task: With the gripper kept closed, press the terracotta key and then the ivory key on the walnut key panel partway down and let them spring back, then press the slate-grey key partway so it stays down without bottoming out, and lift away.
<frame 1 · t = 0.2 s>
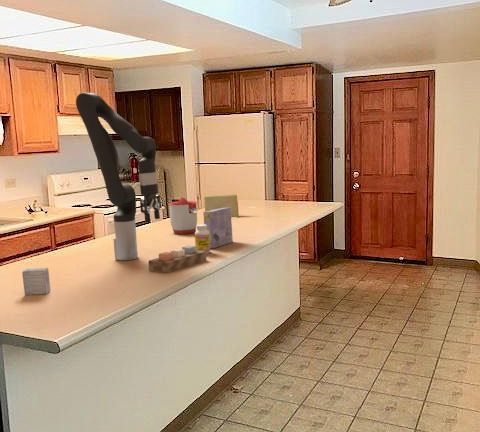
hand: (152, 220, 235), 17 cm above the countertop, tool pointing down, fingers open, 8 cm apart
ivory key: (177, 254, 224), point 4 cm above the countertop, slide at 0.0 cm
citrus juicer: (185, 233, 303), on the countertop
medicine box: (37, 293, 192), on the countertop
supplement bottle: (203, 253, 247), on the countertop
key panel: (178, 265, 225), on the countertop
terracotta key: (165, 258, 219), point 4 cm above the countertop, slide at 0.0 cm
slate key: (189, 251, 230), point 5 cm above the countertop, slide at 0.0 cm
cake pan box: (219, 245, 263), on the countertop
cheese: (223, 217, 356), on the countertop
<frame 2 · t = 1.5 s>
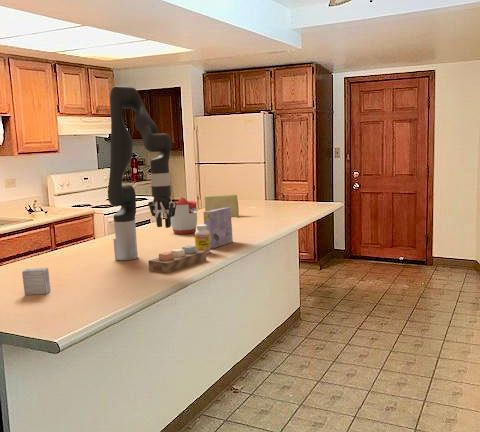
hand: (163, 227, 217), 17 cm above the countertop, tool pointing down, fingers open, 4 cm apart
nothing on the countertop moved.
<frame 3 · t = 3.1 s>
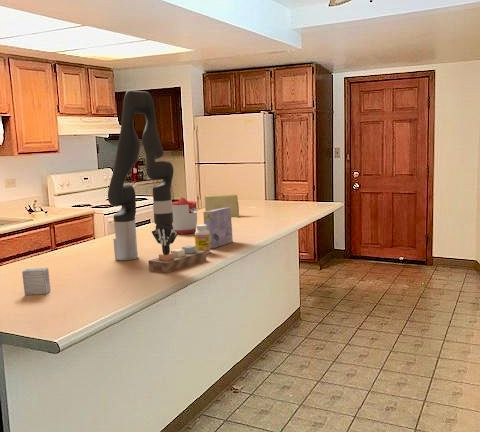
hand: (166, 254, 218), 6 cm above the countertop, tool pointing down, fingers closed
terracotta key: (166, 258, 219), point 4 cm above the countertop, slide at 0.4 cm, touching gripper
everything else where it was.
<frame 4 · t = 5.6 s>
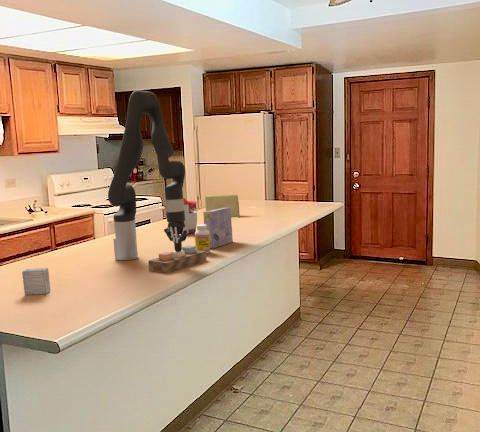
hand: (178, 251, 224), 6 cm above the countertop, tool pointing down, fingers closed
ivory key: (177, 256, 224), point 4 cm above the countertop, slide at 0.7 cm, touching gripper
terracotta key: (165, 258, 219), point 4 cm above the countertop, slide at 0.1 cm
everything else where it was.
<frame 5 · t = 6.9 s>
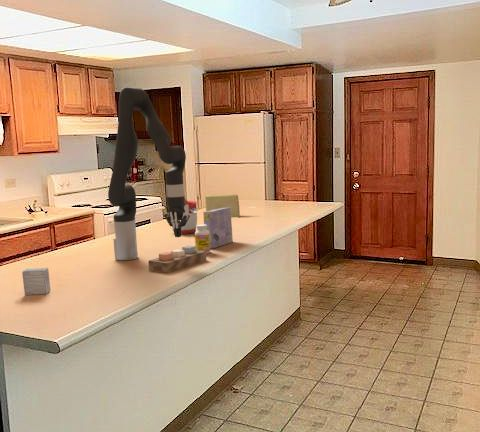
hand: (177, 236, 224), 12 cm above the countertop, tool pointing down, fingers closed
ivory key: (177, 255, 224), point 4 cm above the countertop, slide at 0.3 cm
everything else where it was.
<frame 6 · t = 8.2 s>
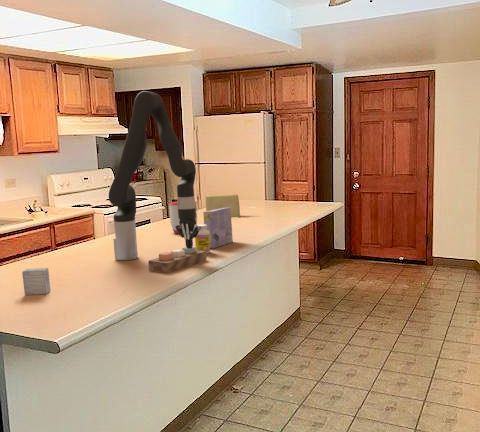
hand: (189, 247, 229), 6 cm above the countertop, tool pointing down, fingers closed
slate key: (189, 252, 230), point 4 cm above the countertop, slide at 0.5 cm, touching gripper
everything else where it was.
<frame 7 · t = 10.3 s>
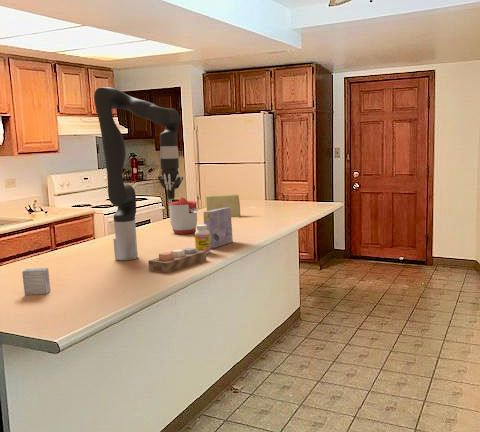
hand: (171, 198, 226), 27 cm above the countertop, tool pointing down, fingers closed
slate key: (189, 253, 230), point 3 cm above the countertop, slide at 1.0 cm
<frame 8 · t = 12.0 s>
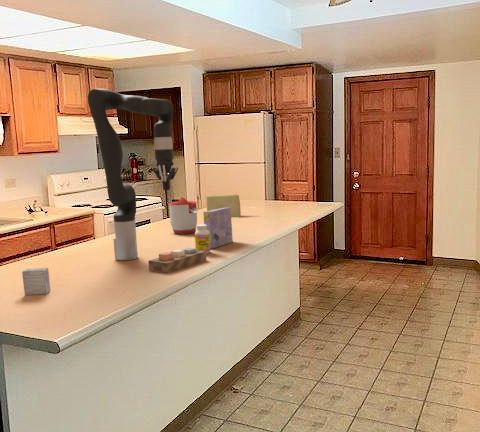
hand: (166, 190, 225), 31 cm above the countertop, tool pointing down, fingers closed
at the end: slate key slide at 1.0 cm; terracotta key slide at 0.1 cm; ivory key slide at 0.3 cm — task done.
